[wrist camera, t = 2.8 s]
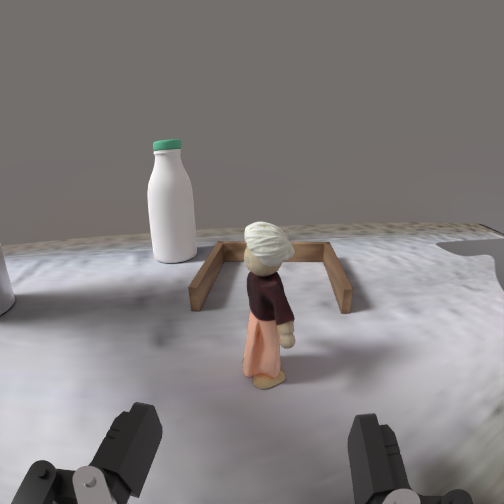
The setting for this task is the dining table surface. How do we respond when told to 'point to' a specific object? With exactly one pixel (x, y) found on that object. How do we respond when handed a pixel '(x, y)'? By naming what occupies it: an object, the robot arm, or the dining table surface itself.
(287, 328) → the grandmother figurine
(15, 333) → the dining table surface
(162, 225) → the milk bottle
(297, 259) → the box
